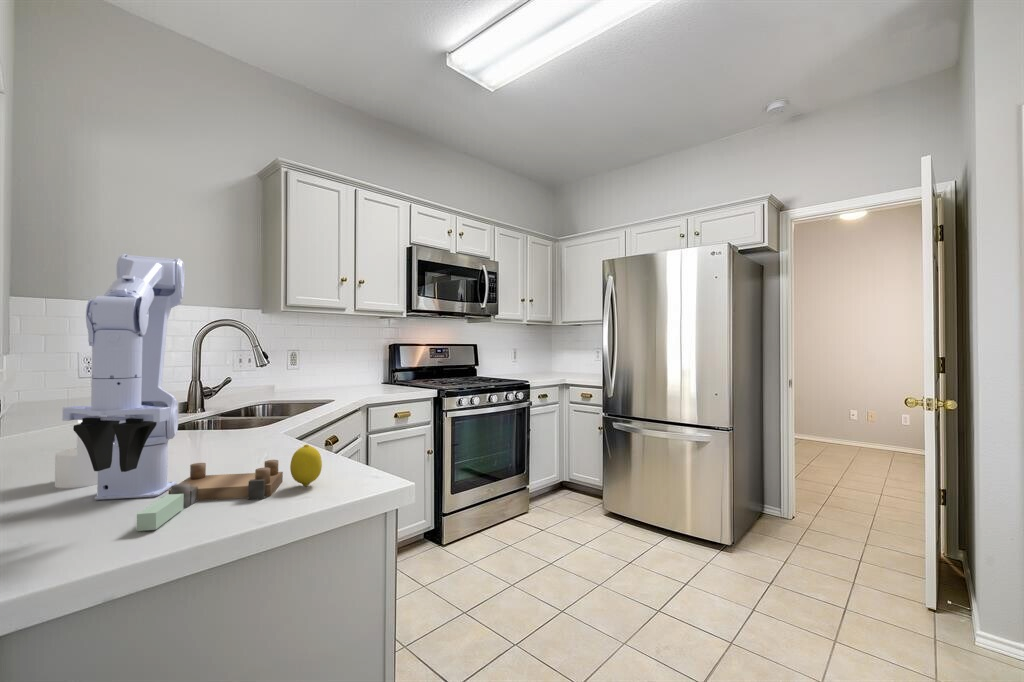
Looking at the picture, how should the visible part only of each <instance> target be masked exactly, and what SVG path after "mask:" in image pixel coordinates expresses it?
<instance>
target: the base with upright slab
mask: <svg viewBox="0 0 1024 682" xmlns="http://www.w3.org/2000/svg"><path fill="white" fill-rule="evenodd" d="M81 422H82V420H76V425H78V424H81ZM97 484H98V471H94V469H93V466H92V463H91V460H90V457H89V454H88V451H87V449H86V447H85V445H84V443H83V442H82V440H81V439H80V437H79V436H78V435H77V434H76V447H75V448H70V449H64V450H60V451H58V452H56V453H55V454H54V487H55V488H58V487H59V488H58V489H77V488H85V487H92V486H97Z"/></svg>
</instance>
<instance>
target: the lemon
mask: <svg viewBox="0 0 1024 682" xmlns="http://www.w3.org/2000/svg"><path fill="white" fill-rule="evenodd" d="M322 462H323V461H322V456H321V453H320V451H319V450H318V449H317V448H315V447H313V446H310V445H309V444H304V445H303V446H302V447H300V448H298V449H297V450H295V452H294V453H293V454H292V457H291V460H290V467H289V469H290V474H291V476H292V479H293V480H294V481H295V482H297V483H298V484H301V485H302V486H303V487H308V486H309V485H310V484H311V483H313V482H315V481H316V480H317V479H318V478H319V476H320V475H321V472H322V467H323V466H322V465H323V463H322Z"/></svg>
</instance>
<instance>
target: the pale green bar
mask: <svg viewBox="0 0 1024 682" xmlns="http://www.w3.org/2000/svg"><path fill="white" fill-rule="evenodd" d="M183 503H184V494H169V493H168V494H165V495H164V496H162V497H161V498H160V499H158V500H157V501H154V502H153V503H152V504H150V505H149V506H147V507H145V508H144V509H142V510H140V511H139V512H138V513H137V514H136V531H137V532H139V531H141V532H142V531H153V530H154V531H155V530H156V531H157V529H158V528H160V527H161V526H162V525H164V524H165V523H166V522H168V521H169V520H170V519H172V518H173V517H174V516H176V515H177V514H178V513H179V512H181V511H182V510H184V508H183Z"/></svg>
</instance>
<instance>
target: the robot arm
mask: <svg viewBox="0 0 1024 682" xmlns="http://www.w3.org/2000/svg"><path fill="white" fill-rule="evenodd" d="M185 274H186V272H185V263H184V261H183V260H182V259H181V258H179V257H176V258H167V257H158V256H157V257H156V256H155V257H154V256H144V255H143V256H142V255H133V254H132V255H131V254H127V253H122V254H121V255H120V256H119V257H118V258H117V261H116V279H115V280H114V281H113V282H112V284H111V285H110V286H109V288H108V289H107V290H106V291H105V293H104V295H97V296H96V297H95V298H94V299H92V298H90V299H89V300H88V302H87V304H86V308H85V322H86V323H85V324H86V330H87V335H88V337H87V339H88V340H87V341H88V346H89V347H91V384H90V385H91V387H90V389H91V392H90V394H91V396H90V399H91V400H90V405H72V406H64V407H63V408H62V421H63V422H64V421H67V422H68V421H77V420H82V422H81V424H78V425H77V424H74V425H73V428H72V429H73V432H74V433H75V434H76V436H77V435H78V436H79V437H80V439H81V440H82V442H83V443H84V445H85V447H86V449H87V451H88V454H89V457H90V460H91V463H92V466H93V469H94V471H98V484H97V485H96V487H97V489H96V490H97V493H96V495H95V496H94V500H96V501H97V500H99V501H101V500H118V499H132V498H133V499H134V498H135V499H136V498H151V497H153V498H154V497H158V496H159V495H161V494H163V493H165V492H166V491H169V490H170V489H171V486H173V485H176V484H178V482H177V481H168V464H169V462H168V461H169V460H168V459H169V457H168V454H169V441H170V440H173V439H174V438H175V437H176V435H177V434H178V428H179V403H178V400H177V397H176V396H174V394H172V393H170V392H168V391H166V390H164V389H163V388H162V387H163V377H164V364H165V353H166V352H165V351H166V341H167V329H168V320H169V317H170V314H171V310H172V309H174V308H175V307H178V306H179V305H181V304H182V303H183V301H182V300H183V299H184V291H185V290H184V289H185V280H186V279H185V277H186V275H185Z"/></svg>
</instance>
